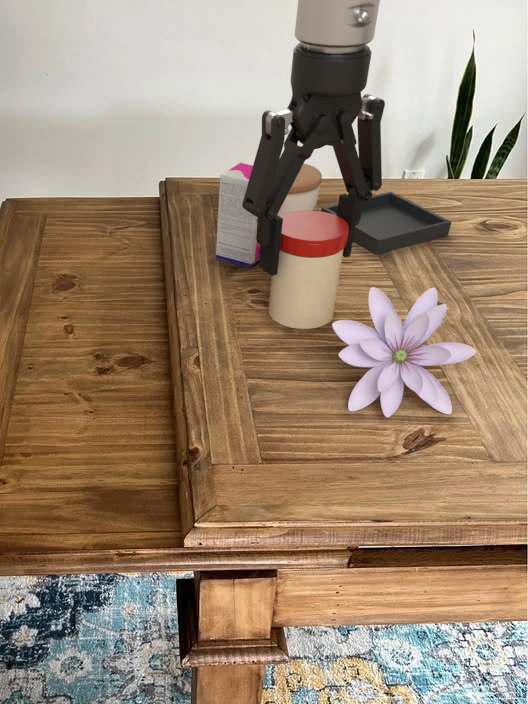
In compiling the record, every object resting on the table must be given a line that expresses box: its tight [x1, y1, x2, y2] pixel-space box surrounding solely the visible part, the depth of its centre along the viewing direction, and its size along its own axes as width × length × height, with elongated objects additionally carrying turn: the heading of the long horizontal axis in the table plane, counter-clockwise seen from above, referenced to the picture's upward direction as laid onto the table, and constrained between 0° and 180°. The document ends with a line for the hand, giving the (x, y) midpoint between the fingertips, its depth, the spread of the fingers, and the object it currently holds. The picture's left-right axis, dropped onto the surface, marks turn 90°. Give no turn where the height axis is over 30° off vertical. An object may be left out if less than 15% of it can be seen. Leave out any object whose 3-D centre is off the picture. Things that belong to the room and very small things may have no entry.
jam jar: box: [267, 249, 344, 330], centre depth 87 cm, size 8×8×11 cm
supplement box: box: [214, 162, 270, 268], centre depth 98 cm, size 6×6×12 cm
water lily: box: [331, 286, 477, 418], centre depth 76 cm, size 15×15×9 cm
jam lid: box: [280, 210, 349, 257], centre depth 83 cm, size 8×8×2 cm
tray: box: [320, 191, 452, 255], centre depth 108 cm, size 13×13×2 cm
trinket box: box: [277, 163, 323, 216], centre depth 106 cm, size 11×11×9 cm
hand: (305, 261), depth 86 cm, fingers open, 10 cm apart
